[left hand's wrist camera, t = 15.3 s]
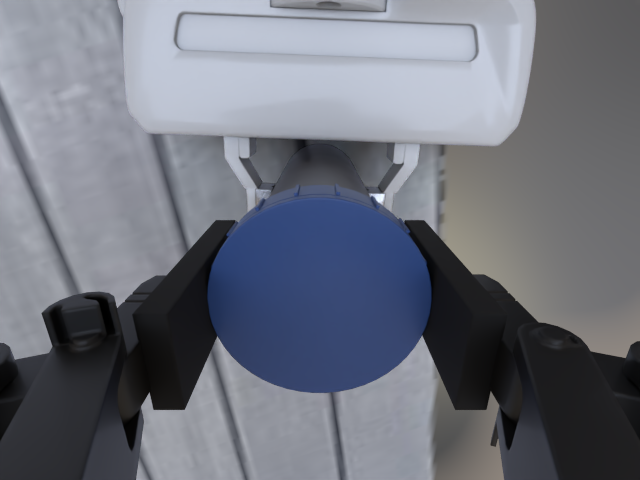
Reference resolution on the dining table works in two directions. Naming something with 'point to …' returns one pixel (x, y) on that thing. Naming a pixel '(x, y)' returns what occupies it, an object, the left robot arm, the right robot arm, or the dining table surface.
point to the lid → (319, 290)
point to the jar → (319, 170)
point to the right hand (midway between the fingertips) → (320, 216)
